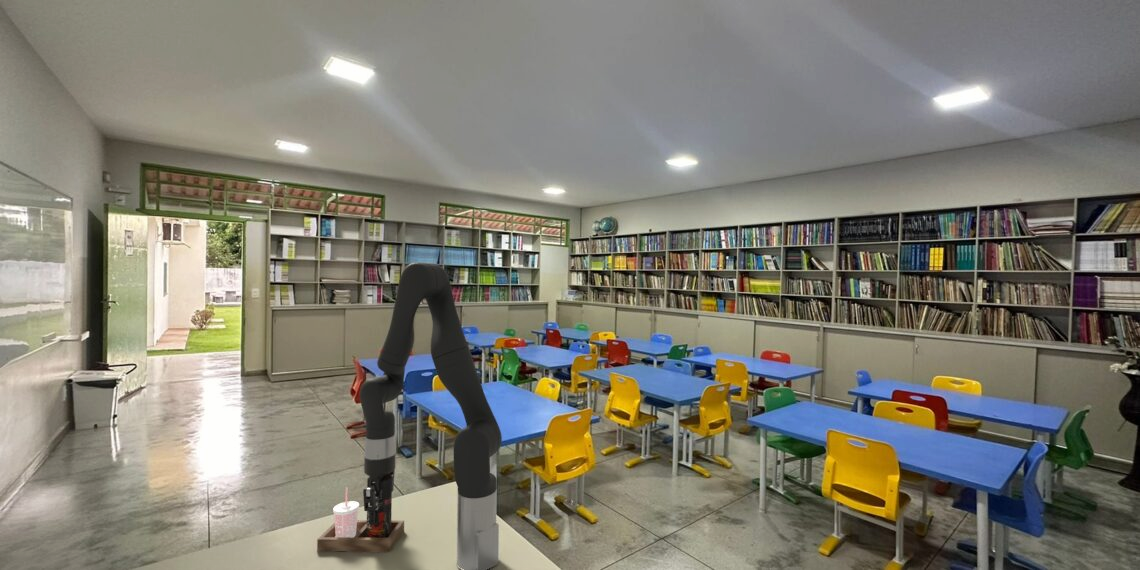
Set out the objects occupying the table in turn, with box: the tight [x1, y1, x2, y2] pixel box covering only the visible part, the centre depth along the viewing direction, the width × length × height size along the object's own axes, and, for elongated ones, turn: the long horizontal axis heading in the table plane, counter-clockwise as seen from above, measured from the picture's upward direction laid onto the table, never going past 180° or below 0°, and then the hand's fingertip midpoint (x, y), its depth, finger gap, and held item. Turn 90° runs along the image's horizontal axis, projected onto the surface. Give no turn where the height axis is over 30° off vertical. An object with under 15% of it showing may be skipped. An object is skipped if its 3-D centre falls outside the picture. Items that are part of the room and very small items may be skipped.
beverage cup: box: [332, 486, 360, 537], centre depth 117 cm, size 6×6×14 cm
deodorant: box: [366, 474, 393, 538], centre depth 117 cm, size 6×6×15 cm
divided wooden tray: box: [316, 519, 405, 553], centre depth 117 cm, size 18×10×3 cm, turn 90°
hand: (379, 517), depth 117 cm, fingers closed on deodorant, 6 cm apart
